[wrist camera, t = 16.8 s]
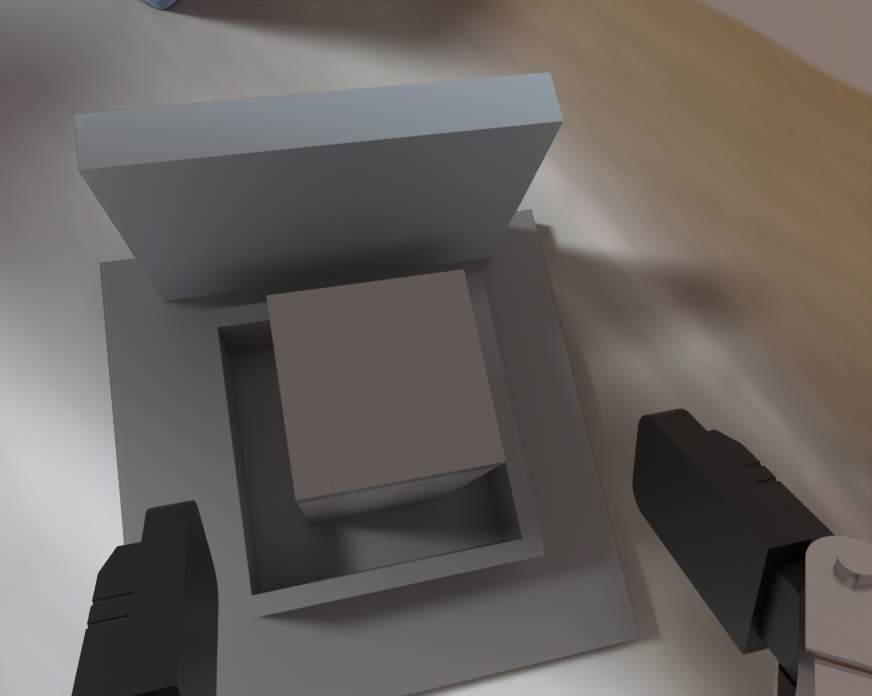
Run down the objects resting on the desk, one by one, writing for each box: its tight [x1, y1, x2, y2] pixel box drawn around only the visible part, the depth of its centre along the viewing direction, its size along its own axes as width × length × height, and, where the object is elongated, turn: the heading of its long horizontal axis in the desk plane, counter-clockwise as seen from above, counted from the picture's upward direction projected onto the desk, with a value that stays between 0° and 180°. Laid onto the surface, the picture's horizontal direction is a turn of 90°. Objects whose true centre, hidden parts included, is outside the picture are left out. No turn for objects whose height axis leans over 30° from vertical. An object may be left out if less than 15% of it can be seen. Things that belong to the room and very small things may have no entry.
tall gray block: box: [266, 269, 506, 525], centre depth 20 cm, size 4×4×10 cm
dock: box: [74, 72, 640, 696], centre depth 21 cm, size 16×16×10 cm
